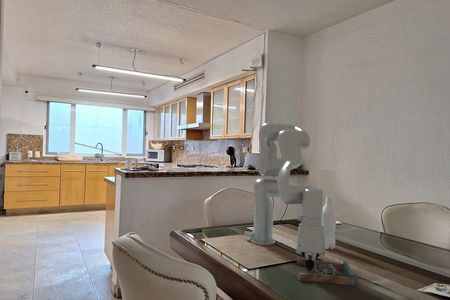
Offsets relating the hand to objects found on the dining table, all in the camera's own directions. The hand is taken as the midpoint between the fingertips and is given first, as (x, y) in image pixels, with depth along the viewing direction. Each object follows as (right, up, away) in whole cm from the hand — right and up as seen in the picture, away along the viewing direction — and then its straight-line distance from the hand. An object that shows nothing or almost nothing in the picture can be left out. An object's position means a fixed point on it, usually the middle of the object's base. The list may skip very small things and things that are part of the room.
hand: (309, 269), depth 114 cm
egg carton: (+5, -2, -1) cm, 6 cm away
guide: (+5, -1, -1) cm, 5 cm away
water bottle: (+17, -2, +31) cm, 36 cm away
